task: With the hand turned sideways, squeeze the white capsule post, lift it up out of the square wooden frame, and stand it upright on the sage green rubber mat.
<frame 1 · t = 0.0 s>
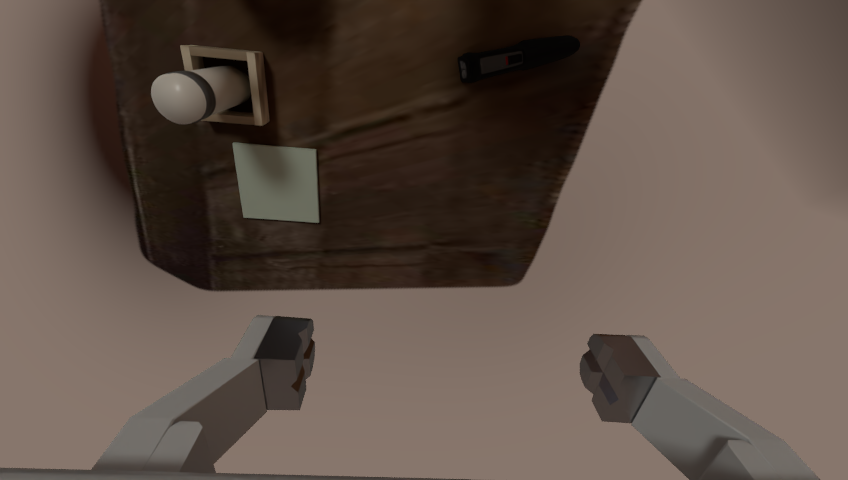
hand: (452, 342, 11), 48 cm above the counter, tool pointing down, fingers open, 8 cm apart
white capsule post: (208, 91, 45), in the square wooden frame
mat: (279, 184, 58), on the counter
square wooden frame: (233, 85, 51), on the counter
electric trimmer: (511, 56, 51), on the counter
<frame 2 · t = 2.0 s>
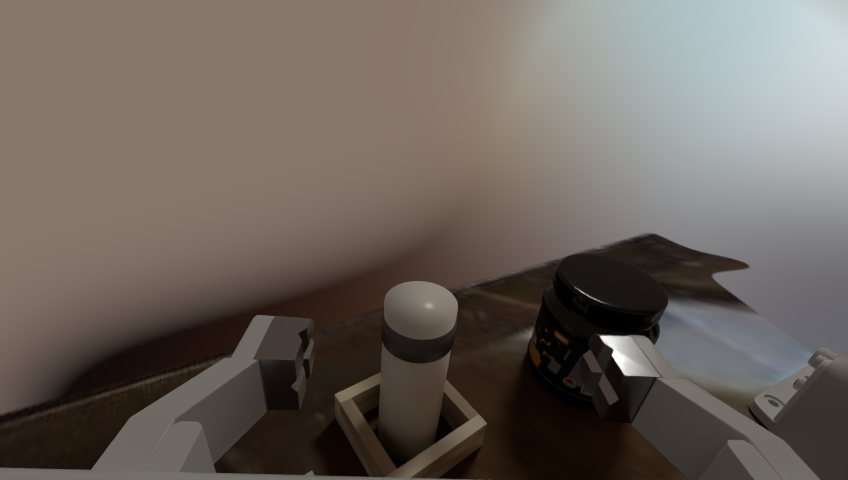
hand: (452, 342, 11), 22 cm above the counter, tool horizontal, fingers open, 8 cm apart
white capsule post: (413, 374, 29), in the square wooden frame
supplement container: (573, 372, 40), on the counter
square wooden frame: (407, 431, 32), on the counter
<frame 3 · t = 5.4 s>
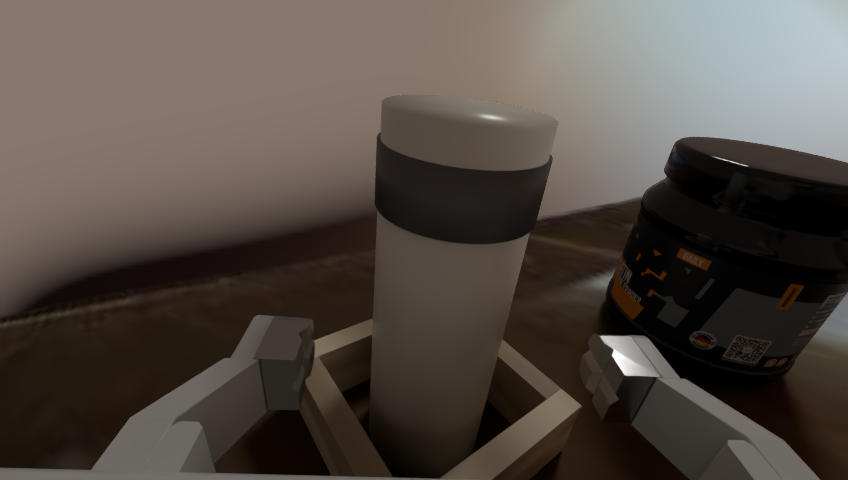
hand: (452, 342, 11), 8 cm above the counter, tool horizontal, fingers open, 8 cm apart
white capsule post: (440, 302, 14), in the square wooden frame
supplement container: (681, 333, 25), on the counter
square wooden frame: (423, 422, 17), on the counter
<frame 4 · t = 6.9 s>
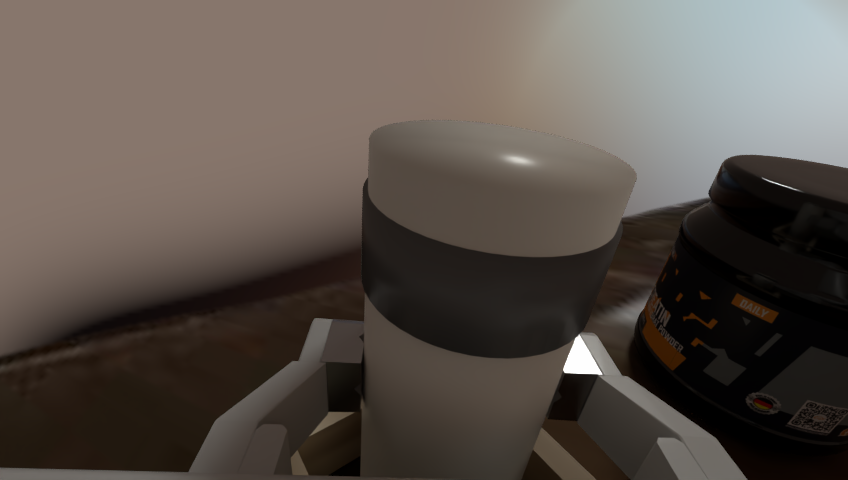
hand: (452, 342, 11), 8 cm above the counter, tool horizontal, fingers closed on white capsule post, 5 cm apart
white capsule post: (451, 391, 11), in the square wooden frame, touching gripper
supplement container: (723, 380, 22), on the counter
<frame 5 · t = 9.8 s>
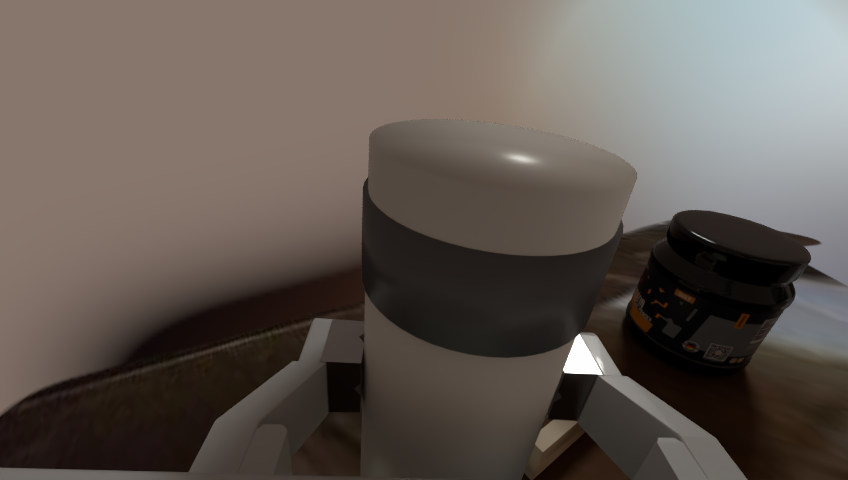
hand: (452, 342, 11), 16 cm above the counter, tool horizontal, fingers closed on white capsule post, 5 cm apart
white capsule post: (451, 390, 11), point 15 cm above the counter, touching gripper
supplement container: (677, 340, 37), on the counter
square wooden frame: (522, 397, 29), on the counter
when the fingers open (10 cm above the counter, at t = 11.3 s): white capsule post stays where it is, resting on mat.
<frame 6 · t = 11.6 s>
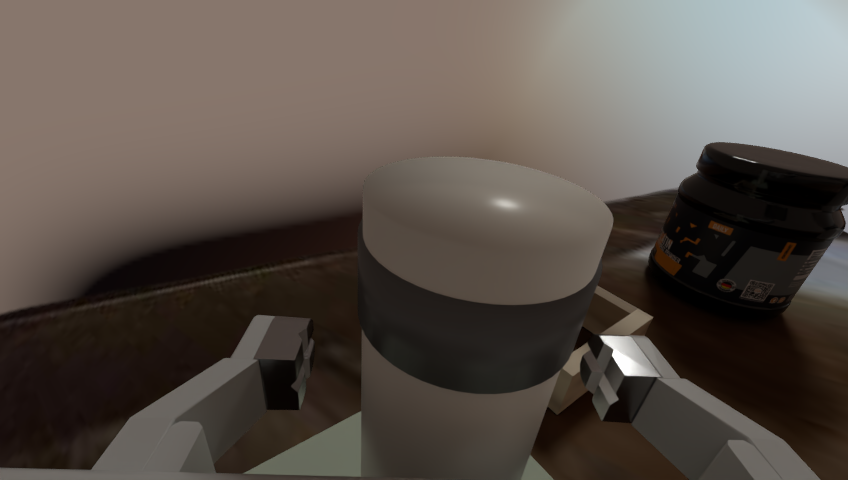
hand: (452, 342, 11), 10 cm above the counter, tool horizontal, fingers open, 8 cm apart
white capsule post: (446, 412, 11), on the mat, point 8 cm above the counter
supplement container: (706, 289, 34), on the counter
square wooden frame: (541, 335, 26), on the counter
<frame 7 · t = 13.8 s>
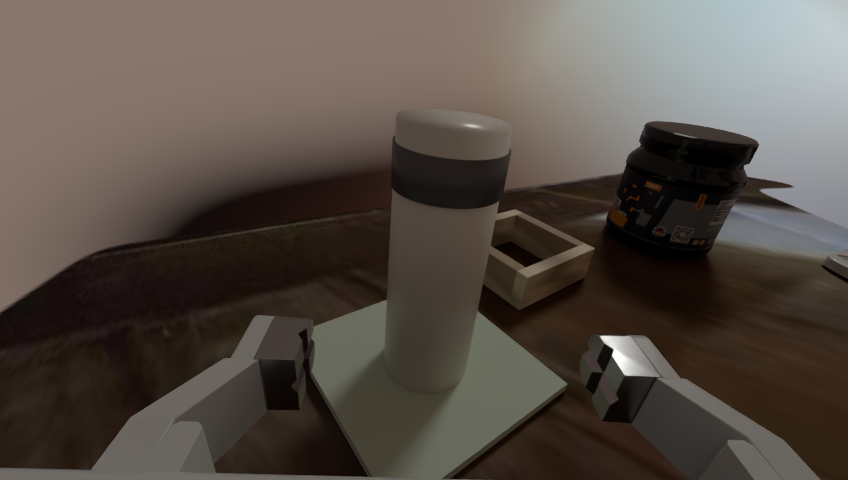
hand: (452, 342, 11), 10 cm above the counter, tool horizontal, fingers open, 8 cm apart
white capsule post: (437, 259, 19), on the mat, point 8 cm above the counter
mat: (423, 365, 23), on the counter
supplement container: (651, 241, 42), on the counter
square wooden frame: (513, 266, 34), on the counter
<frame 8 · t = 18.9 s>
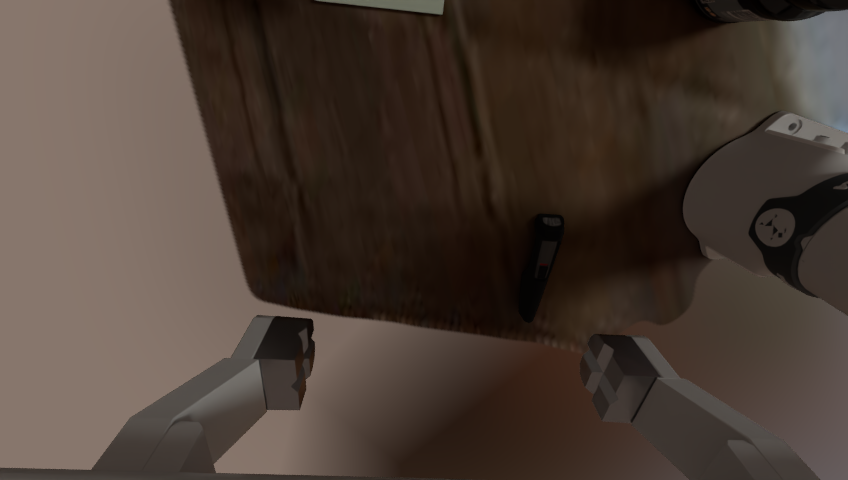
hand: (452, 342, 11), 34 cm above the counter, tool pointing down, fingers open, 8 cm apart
electric trimmer: (536, 262, 51), on the counter
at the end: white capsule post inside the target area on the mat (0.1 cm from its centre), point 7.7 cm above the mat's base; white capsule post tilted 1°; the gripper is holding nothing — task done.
